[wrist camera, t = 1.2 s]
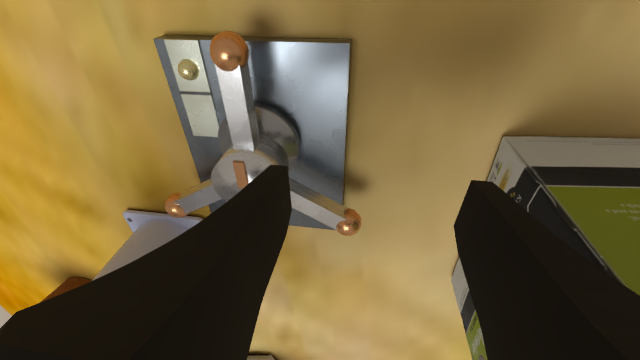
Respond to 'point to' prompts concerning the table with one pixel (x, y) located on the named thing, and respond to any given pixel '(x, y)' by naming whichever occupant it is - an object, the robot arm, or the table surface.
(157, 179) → the table surface
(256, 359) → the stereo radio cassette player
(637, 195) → the tea box
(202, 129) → the stand plate
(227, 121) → the capstan
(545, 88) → the table surface
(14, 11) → the table surface
